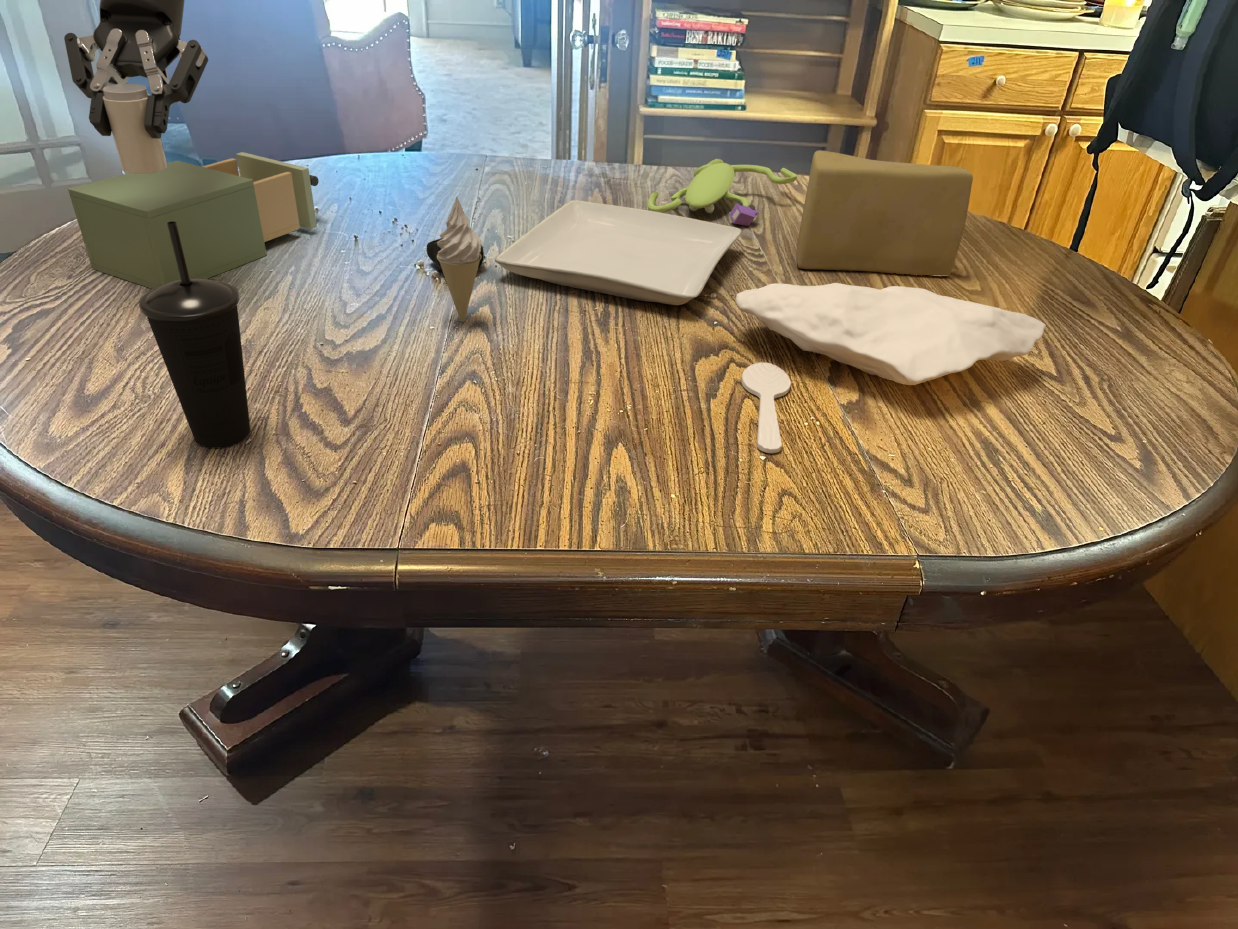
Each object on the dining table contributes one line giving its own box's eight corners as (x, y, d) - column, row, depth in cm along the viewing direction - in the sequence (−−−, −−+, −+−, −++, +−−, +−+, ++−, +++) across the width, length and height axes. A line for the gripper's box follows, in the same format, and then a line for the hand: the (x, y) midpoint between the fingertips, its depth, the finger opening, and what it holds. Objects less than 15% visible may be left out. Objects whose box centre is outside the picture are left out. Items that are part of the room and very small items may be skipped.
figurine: (802, 197, 150) (808, 165, 147) (740, 238, 131) (745, 202, 128) (708, 176, 157) (711, 145, 154) (636, 212, 138) (639, 177, 135)
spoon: (741, 449, 82) (742, 445, 82) (741, 363, 97) (741, 359, 96) (797, 456, 82) (798, 451, 81) (788, 368, 96) (789, 364, 96)
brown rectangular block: (944, 264, 127) (974, 161, 119) (954, 289, 119) (987, 181, 111) (795, 247, 129) (814, 144, 121) (795, 270, 121) (816, 163, 113)
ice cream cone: (451, 333, 99) (444, 205, 90) (434, 316, 102) (425, 191, 94) (491, 325, 101) (487, 199, 93) (472, 309, 104) (467, 186, 96)
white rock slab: (1069, 425, 87) (1099, 340, 83) (728, 382, 90) (741, 297, 86) (1003, 354, 108) (1025, 283, 104) (729, 321, 111) (739, 250, 107)
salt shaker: (112, 168, 90) (90, 87, 86) (149, 159, 94) (128, 81, 89) (141, 176, 89) (119, 94, 84) (177, 166, 92) (158, 87, 87)
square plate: (570, 220, 133) (570, 195, 131) (740, 251, 126) (744, 225, 124) (492, 282, 112) (491, 253, 109) (692, 323, 105) (696, 293, 103)
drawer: (274, 202, 129) (264, 145, 124) (337, 219, 125) (330, 161, 120) (169, 237, 115) (154, 175, 110) (237, 257, 111) (224, 193, 106)
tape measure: (425, 263, 116) (423, 236, 113) (474, 257, 118) (473, 230, 116) (441, 282, 111) (439, 254, 109) (491, 275, 113) (490, 248, 111)
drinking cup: (259, 406, 83) (216, 203, 72) (273, 446, 78) (230, 233, 67) (173, 422, 80) (114, 212, 69) (182, 464, 75) (120, 244, 63)
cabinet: (194, 234, 119) (177, 160, 113) (266, 255, 114) (253, 179, 109) (92, 268, 107) (67, 188, 102) (168, 294, 103) (146, 211, 97)
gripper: (54, -46, 86) (32, 108, 83) (200, -38, 87) (183, 115, 84) (94, 6, 93) (75, 149, 90) (228, 13, 94) (213, 155, 91)
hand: (127, 132), depth 87 cm, fingers closed on salt shaker, 4 cm apart
